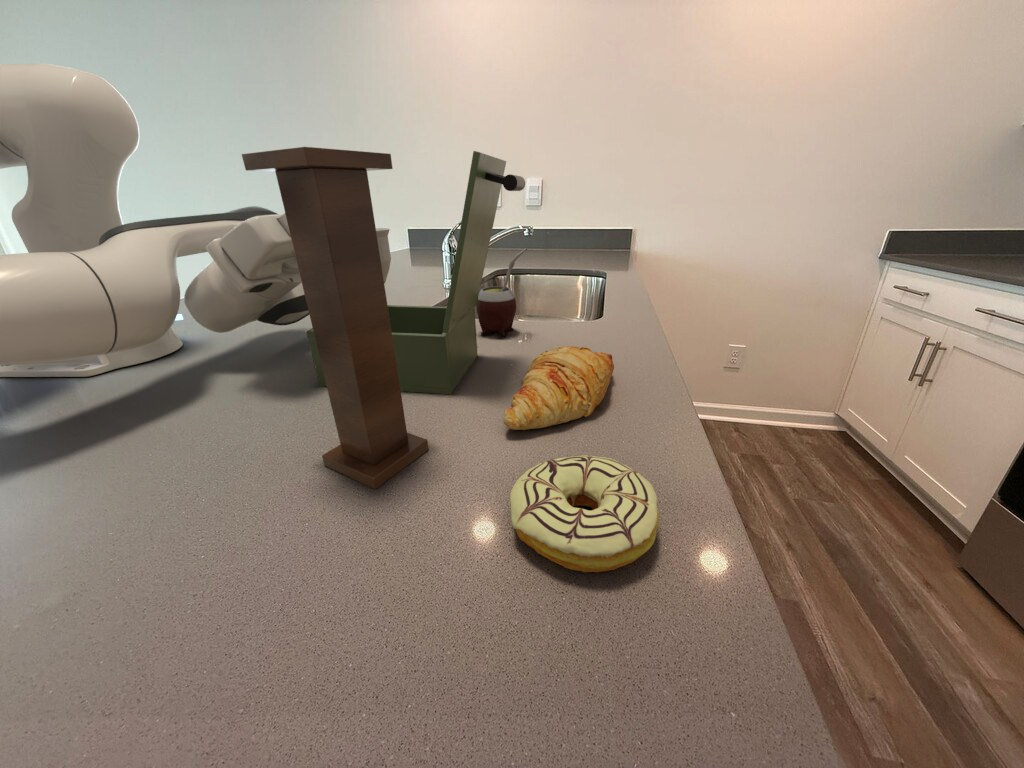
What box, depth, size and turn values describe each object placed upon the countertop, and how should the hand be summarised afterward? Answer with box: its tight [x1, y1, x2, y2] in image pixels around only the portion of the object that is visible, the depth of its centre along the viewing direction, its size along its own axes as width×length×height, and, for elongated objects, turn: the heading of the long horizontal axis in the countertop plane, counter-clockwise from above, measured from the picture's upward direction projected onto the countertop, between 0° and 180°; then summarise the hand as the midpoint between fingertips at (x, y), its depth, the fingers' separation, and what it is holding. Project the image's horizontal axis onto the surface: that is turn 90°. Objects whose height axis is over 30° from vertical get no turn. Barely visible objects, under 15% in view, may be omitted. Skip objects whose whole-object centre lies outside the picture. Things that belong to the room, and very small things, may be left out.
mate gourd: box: [475, 247, 528, 339], centre depth 71 cm, size 8×8×15 cm
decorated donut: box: [509, 454, 660, 574], centre depth 30 cm, size 10×11×4 cm
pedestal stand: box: [241, 146, 430, 490], centre depth 34 cm, size 7×7×26 cm
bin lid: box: [443, 150, 526, 334], centre depth 50 cm, size 19×14×4 cm
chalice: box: [376, 227, 392, 284], centre depth 72 cm, size 7×7×18 cm
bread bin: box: [306, 304, 478, 395], centre depth 58 cm, size 19×14×8 cm
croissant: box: [503, 345, 615, 431], centre depth 48 cm, size 21×10×8 cm, turn 141°
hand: (342, 203), depth 51 cm, fingers open, 8 cm apart
